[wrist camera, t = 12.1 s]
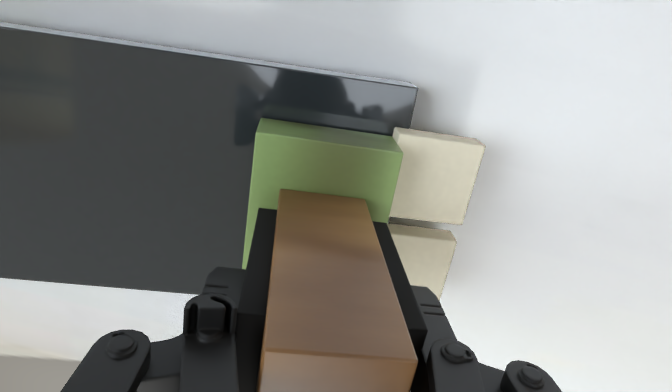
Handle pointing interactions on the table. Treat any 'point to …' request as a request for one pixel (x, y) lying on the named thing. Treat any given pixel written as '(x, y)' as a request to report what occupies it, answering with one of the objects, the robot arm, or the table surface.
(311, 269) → the scrub brush
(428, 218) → the eraser
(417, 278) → the eraser
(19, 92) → the slate
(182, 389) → the robot arm
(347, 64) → the table surface
